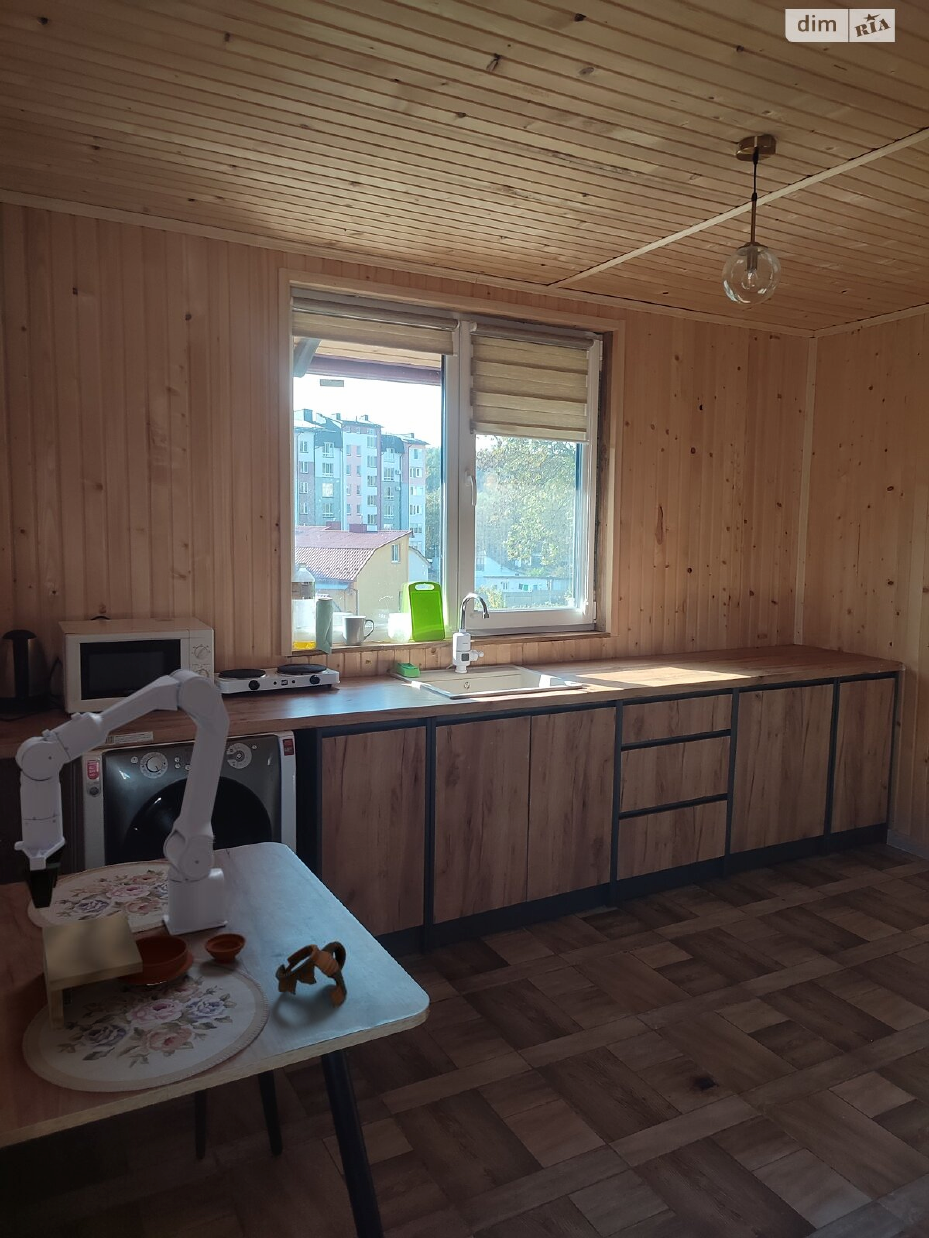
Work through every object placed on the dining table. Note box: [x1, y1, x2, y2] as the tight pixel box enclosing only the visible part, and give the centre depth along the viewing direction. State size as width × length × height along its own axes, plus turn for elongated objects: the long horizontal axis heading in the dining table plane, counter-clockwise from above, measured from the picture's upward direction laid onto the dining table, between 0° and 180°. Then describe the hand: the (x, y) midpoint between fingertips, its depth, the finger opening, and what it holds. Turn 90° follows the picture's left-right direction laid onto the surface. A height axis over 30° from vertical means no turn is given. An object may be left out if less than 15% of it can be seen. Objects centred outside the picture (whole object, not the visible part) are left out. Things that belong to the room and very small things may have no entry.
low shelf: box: [41, 912, 143, 1030], centre depth 132 cm, size 12×18×7 cm, turn 28°
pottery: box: [115, 932, 247, 986], centre depth 138 cm, size 12×20×4 cm, turn 120°
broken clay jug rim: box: [274, 940, 348, 1007], centre depth 132 cm, size 12×10×8 cm
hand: (45, 897), depth 141 cm, fingers open, 7 cm apart
